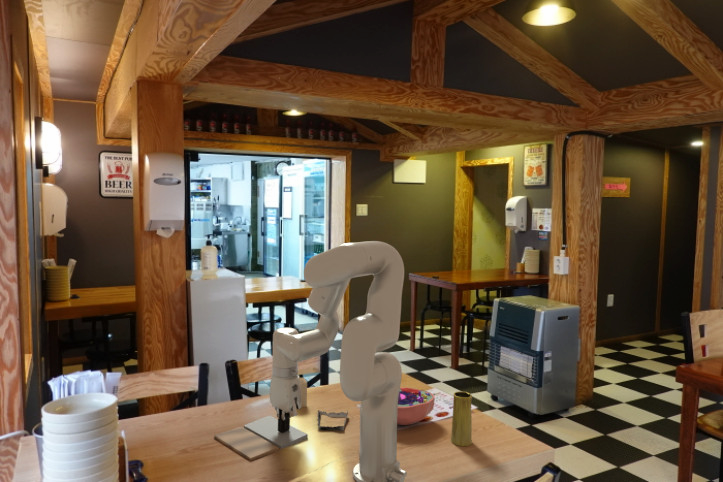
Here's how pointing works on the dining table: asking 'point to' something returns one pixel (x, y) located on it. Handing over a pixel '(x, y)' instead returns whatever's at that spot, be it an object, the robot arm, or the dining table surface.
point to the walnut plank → (246, 443)
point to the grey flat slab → (275, 432)
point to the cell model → (413, 405)
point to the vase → (462, 419)
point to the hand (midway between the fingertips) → (283, 430)
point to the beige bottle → (303, 392)
